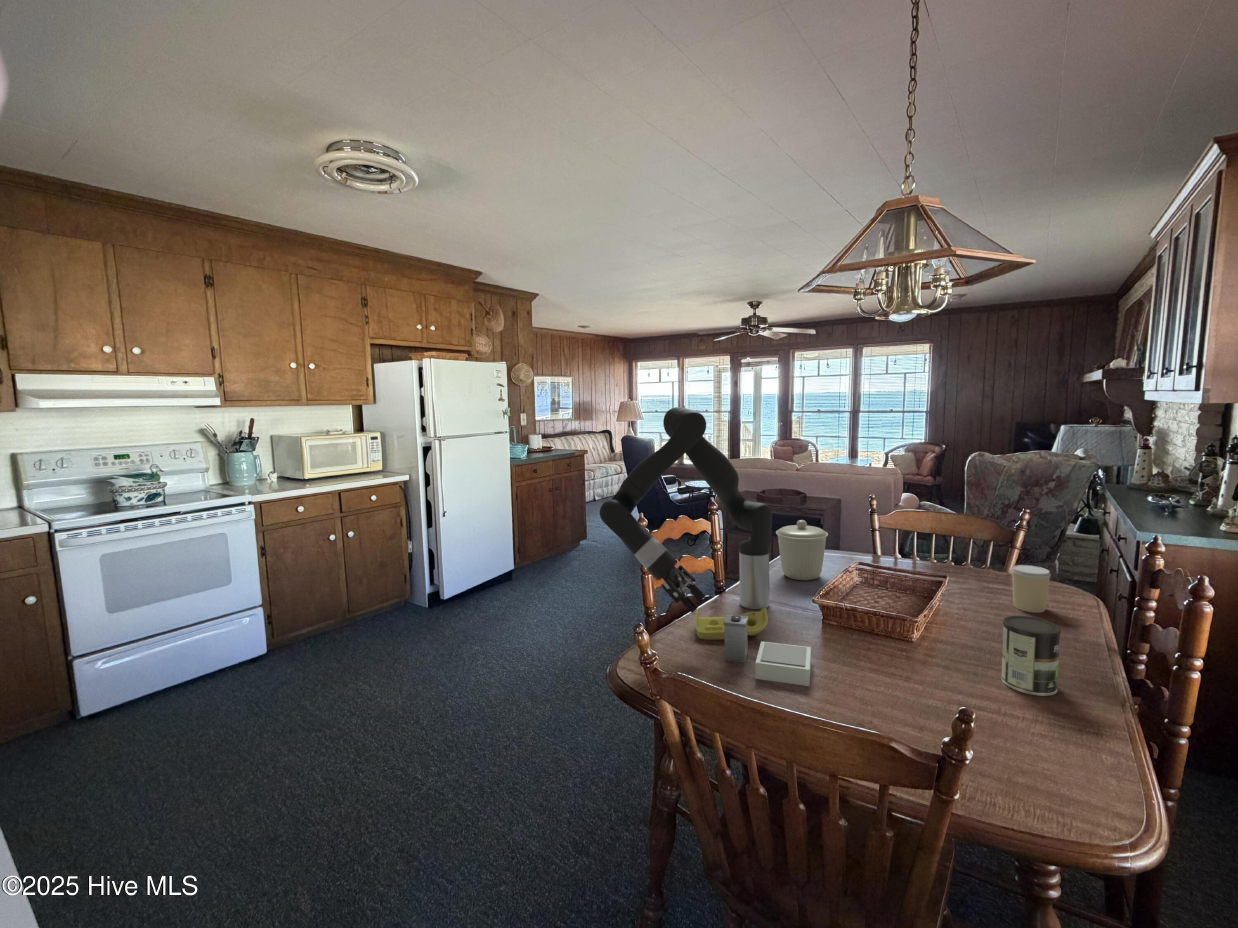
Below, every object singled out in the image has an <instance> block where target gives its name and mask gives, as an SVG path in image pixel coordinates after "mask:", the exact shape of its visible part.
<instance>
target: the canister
mask: <svg viewBox="0 0 1238 928" xmlns="http://www.w3.org/2000/svg"><path fill="white" fill-rule="evenodd" d="M775 534H776V535H777V540H778V547H779V548H778V549H779V558H780V564H781V571H782V572H783V574H784V576H785V577H787V578H790V579H792V580H796V581H813V580H816V579H818V578H819V577H820V576H821V573H822V571H823V566H824V565H823V563H824V558H825V550H826V541H827V537H828V536H829V533H828V532H827V531H825V530H824V529H822V528H821V527H817V526H813V525H808V522H806V520H804V519H799V520H797V522H796V524H794V525H786V526H782V527H781V528H779V529H777V530H776V531H775Z"/></svg>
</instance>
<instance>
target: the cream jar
mask: <svg viewBox="0 0 1238 928" xmlns="http://www.w3.org/2000/svg"><path fill="white" fill-rule="evenodd" d="M1011 572H1012V600H1013V603H1012V604H1013V607H1014V608H1016V609H1017V610H1020V611H1022V612H1023V611H1024V612H1028V613H1043V612H1045V611H1046V608H1047V602H1048V593H1049V585H1050V579H1051V576H1052V575H1051V573H1050V570H1049V569H1046V568H1044V567H1040V566H1035V565H1027V564H1017V565H1014V566H1013V567H1012V568H1011Z"/></svg>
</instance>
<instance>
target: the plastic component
mask: <svg viewBox="0 0 1238 928" xmlns="http://www.w3.org/2000/svg"><path fill="white" fill-rule="evenodd" d="M739 616H747V617H748V622H747V634H748V636H749V637H751V636H754V637H756V635H758V634H759V633H760V632H762V631H763V630H765V628H766V627H767V625H768V622H769V617H768V609H767V608H762V609H759V611H750V612H748V611H747V612H743V613H742V614H740V615H739ZM725 618H726V616H713V617H712V616H709V617H705V616H704V617H700V613H699V610H698V609H696V610H695V624H694V625H695V631H696V636H697V637H698V638H699V639H701V640H725V625H724V620H725Z"/></svg>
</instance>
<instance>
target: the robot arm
mask: <svg viewBox="0 0 1238 928" xmlns="http://www.w3.org/2000/svg"><path fill="white" fill-rule="evenodd" d="M706 420H707V419H706V418H705V417H704V415H703V414H702V413H700V412H698V411H695V410H693V409H689V408H686V407H681V406H675V407H671V408H670V409H669V410H667V411H666V412H665V414H664V417H663V424H662V425H663V428H664V431H665V433H666V435H667V436H668V438H669V439H668V440H667V442H665V443H664V444H663V445H662V446H661V447H660V448H659V449H658V450H656V451H655V452H653V453H651V454H650V455H649V456H647V457H646V458H644V459H643V460H642V461H640V462H639V463H638V464H637V465H636V466H635V467H634V468H633V469H632V470H631V471H630V473H629V474H628V475H627V476H626V477H625V479H624V480H623V481H622V483H620V487H619V488H618V490H617V491H616V492H615V494H614V496H612V498H611V499H609V500H606V501H604V502H603V503H602V504H601V506H600V509H599V517H600V519H601V521H602V523H604V525H606V526H607V527H608V528H609V529H610V530H611V531H612V532H613V533H614V534H615V535H616V536H617V537H618V538H620V540H621V542H622V543H623V544H624V545H625V547H626V548H627V549H628V550H629V551H630V553H632V554H633V555H634V557H635V558H636V559H637V560H638V562H639V563H640V564H641V565H642V567H643V568H645V570H646V571H647V572H648V573H649V574H650V575H651V576H652V577H653V578H654V579H655V581H661V580H663V581H664V582H663V583H662V584H661V585H660V586H661V588H662V589H663V590H664V591H665V593H667V595H668V596H669V597H670V598H671V599H672V600H673V602H674V603H676V604H678V603H681V604H683V606H685V608H686V609H687V610H688V611H689V612H690V613H695V612H696V610H698V609H699V606H698V605H697V604H696V603H695V602H694V601H693V600H692V598H690V596H688V594H687V592H686V591H685V590H688V591H689V593H691V594H692V595H693V596H694V598H695V599H696V600H697V601H698V602H701V601H702V600H703V599H704V598H705V597H706V595H705V593H704V592H703V591H701V589H700V588H699V587H698V586H697V583H696V582H697V580H696V578H695V577H694V576H693V575H692V574H691V573H690V572H689V571H688V570H687V569H686V568H685V567H683V566H684V565H681V564H680V565H678V566H677V567H676V565H677V564H678V559H676V558H675V556H674V555H673V554H672V553H671V552H670V551H669V550H668V549H667V548H666V547H665V546H664V545H663V544H662V543H661V542H660V541H659V539H657V538H655V537H654V536H653V535H652V534H651V533H650V532H649V531H648V530H647V529H646V527H644V526H643V525H642V524H641V523H639V522H638V520H637V519H636V518H635V517H634V515H633V514H632V513H633V512H634V510H635V508H636V506H637V505H638V504H639V502H640V501H642V499H643V498H645V496H646V495H647V493H649V491H650V490H651V489H652V488H653V486H654V485H655V484H656V483H657V482H658V481H659V479H660V478H661V477H662V476H663V475H664V474H665V473H666V472H667V470H669V469H670V468H671V467H672V466H673V465H674V464H675V463H677V461H678V460H680V459H681V457H683V456H684V455H686V456H687V457H688V459H689V461H690V462H691V463H692V465H693V466H694V468H695V469H696V471H697V472H698V473H699V474H700V475H701V477H702V479H703V480H704V481H705V483H706V484H707V485H708V486H709V488H710V489H711V490H712V491H713V493H714V494H715V495H716V496H717V498H718V499H719V501H720V502H721V503H722V504H723V506H724V507H725V509H726V511H727V512H728V514H729V516H730V518H731V520H732V522H733V523H734V524H735V526H737V527H738V528H739V529H741V530H745V531H750V532H751V535H750V539H746V540H742V541H741V542H739V546H738V547H739V549H738V551H739V553H738V554H739V555H738V556H739V558H738V559H739V605H740V606H741V607H743V608H745V609H749V610H750V609H751V610H762V608H766V609H767V608H768V607H770V547H771V544H772V535H773V533H772V531H773V530H772V529H773V513H772V509H771V507H770V506H769V505H768V504H767V503H763V502H757V501H751V500H748V499H746V498H745V496H743V494H742V493H741V492H740V490H739V482H740V481H739V480H740V478H739V474H738V471H737V470H736V468H735V467H734V465H733V464H732V462H731V461H730V460H729V459H728V458H727V456H726V455H725V454H724V453H723V452H722V451H721V450H719V448H717V447H716V446H715V445H713V444H712V443H711V442H709V440H707V439H706V438H705V437H704V435H705V432H706V430H707V421H706Z"/></svg>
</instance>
